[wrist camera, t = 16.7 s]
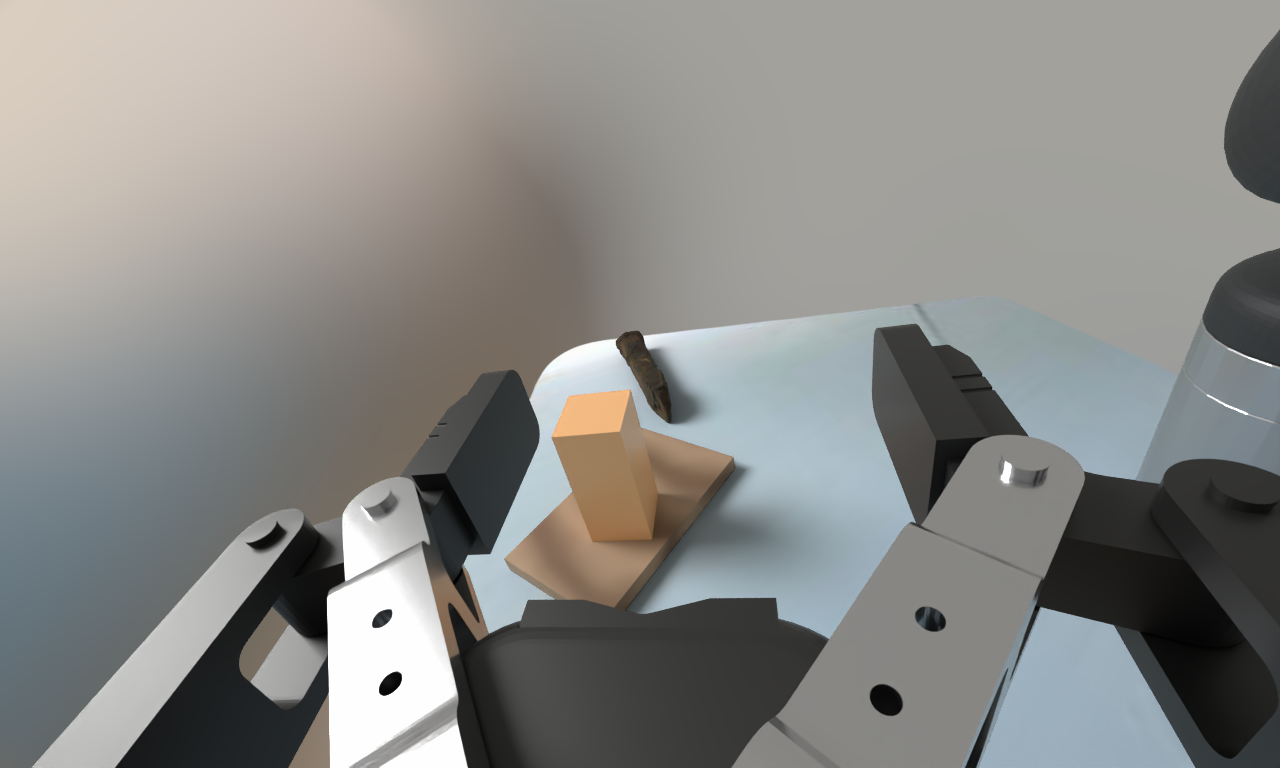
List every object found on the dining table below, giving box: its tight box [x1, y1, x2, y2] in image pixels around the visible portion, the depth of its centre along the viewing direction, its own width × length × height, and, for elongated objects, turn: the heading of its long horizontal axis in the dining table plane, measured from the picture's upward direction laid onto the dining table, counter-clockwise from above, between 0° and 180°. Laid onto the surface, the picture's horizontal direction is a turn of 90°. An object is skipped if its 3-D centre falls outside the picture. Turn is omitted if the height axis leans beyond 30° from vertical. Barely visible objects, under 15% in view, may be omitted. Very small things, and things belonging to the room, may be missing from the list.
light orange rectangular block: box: [552, 390, 658, 542], centre depth 44 cm, size 5×5×12 cm
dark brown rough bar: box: [616, 331, 671, 423], centre depth 67 cm, size 19×4×5 cm, turn 12°
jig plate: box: [504, 428, 735, 610], centre depth 48 cm, size 20×12×5 cm, turn 142°
